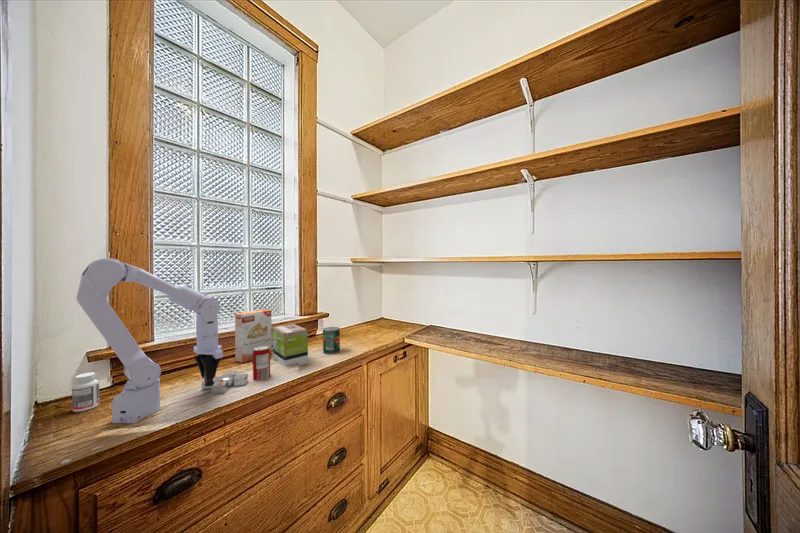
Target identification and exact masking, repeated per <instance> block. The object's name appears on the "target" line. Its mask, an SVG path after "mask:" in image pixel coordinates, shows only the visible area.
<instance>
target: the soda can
mask: <svg viewBox="0 0 800 533" xmlns="http://www.w3.org/2000/svg"><path fill="white" fill-rule="evenodd" d="M270 377H271V355H270V350H269V347H268V346H260V347H256V348H254V350H253V360H252V379H253V380H254V381H262V380H266V379H269V378H270Z"/></svg>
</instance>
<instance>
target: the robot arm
mask: <svg viewBox="0 0 800 533" xmlns="http://www.w3.org/2000/svg"><path fill="white" fill-rule="evenodd" d="M80 276H81V277H80V282H79V285H78V289H77V290H78V291H77V294H76V297H75V298H76V301H77V303H78V305H79V306H80V307H81V308H82V310H83V311H84V313H85V314H86V316H87V317H88V318H89V320H90V321H91V322H92V323H93V325H94V327H95V328H96V329H97V331H98V332H99V333H100V335H101V336H102V337H103V339H104V340H105V341H106V343H107V344H108V346H110V348H111V349H112V350H113V352H114V353H115V354H116V356H117V358H118V359H119V360H120V362H121V363H122V365H123V374H124V376H125V377H126V378H127V379H128V380H127V381H126V383H125V384H124V385H123V386H124V388H123V389H122V391H121V392H119V394H117V395H115V396H114V398H113V399H112V402H111V417H112V418H111V420H112V421H111V423H113V424H135V423H137V422H139V421H141V420H143V419H144V418H146V417H148V416H151V415H152V414H155V413H157V412H158V411H159V410H160V409H161V379H160V376H161V374H162V368H161V366H160V365H159V364H158V363H156V362H154V361H153V360H152V359H151V358H150V357H149V356H147V354H145V352H144V351H143V350H142V348H141V347H140V346H139V344H138V342H136V340H135V339H134V337H133V336H132V334H131V333H130V331H129V330H128V329H127V327H126V326H125V324H124V322H123V321H122V319H120V316H118V314H117V313H116V312H115V310H114V308H113V307H112V306H111V304H110V302H109V301H108V300H107V298H108V296H109V294H110V292H111V290H112V288H113V287H114V286H116V284H118V283H119V282H124V283H125V282H126V283H137V284H140V285H143V286H145V287H147V288H150V289H152V290H155V291H157V292H159V293H162V294H164V295H167V298H168V301H169V302H171V303H173V304H176V305H178V306H180V307H182V308H185V309H187V310H190V311H193V312H194V313H195V317H196V320H195V325H196V326H195V327H196V328H195V329H196V331H195V332H196V336H195V338H196V345H195V346H193V353H195V354H197V355H194V356H193V357H192V358H193V360H194V361H195V362H196V364H197V366H198V369H199V372H200V376H201V378H202V379H203V378H204V369H205V375H206V378H207V380H209V379H212V378H215V377H216V374H217V370H218V367H219V364H220V362H221V360H222V358H224V351H223V350H222V348H223V346H222V345H220V344H219V320H218V314H219V312H220V311H221V309H222V306H221V305H220V303H219V302H218V301H219V300H217V299H216V298H214V297H209V296H207V293H205V292H200V291H198V290H195V289H193V286H192V285H190V284H176V285H174V284H172V283H170V282H169V281H166V280H164V279H162V278H161V277H158V276H157V275H154V274H153V273H150V272H148V271H146V270H144V269H143V268H140V267H137V266H134V265H132V264H129V263H125V262H122V261H120V260H118V259H116V258H109V257H106V258H100V259H96V260H94V261H92V262H90V263H89V264H88V265H87V266H86V268H85V269H84V270H83V271H82V273H81V274H80ZM132 427H133V428H136V427H137V428H138V427H140V425H135V426H132Z"/></svg>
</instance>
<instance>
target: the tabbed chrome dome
mask: <svg viewBox="0 0 800 533" xmlns="http://www.w3.org/2000/svg"><path fill="white" fill-rule="evenodd" d="M238 371H239V370H229V371H225V372H224V373H223V374H222V375H220V376H219V375H218V376H215V378H213V385H211V386H207V387H206V386H204V379H203V380H202V381H201V390H202V391H204V390H211V395H213V394H214V395H216V394H223V393H226V392H227V391H228V389H229V388H231V387H239V386H240V387H241V386H245V385H247V383H248V382H249V375H248V374H249V373H241V374H238V373H239V372H238Z"/></svg>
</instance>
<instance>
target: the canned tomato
mask: <svg viewBox="0 0 800 533" xmlns="http://www.w3.org/2000/svg"><path fill="white" fill-rule="evenodd" d="M340 329H341V328H340V327H339V326H338V327H337V326H329V327H323V328H322V353H323V354H324V355H335V354H338V353H340V352H341V331H340Z"/></svg>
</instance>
